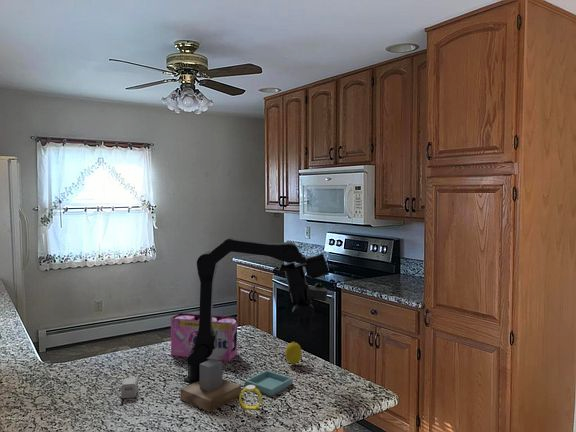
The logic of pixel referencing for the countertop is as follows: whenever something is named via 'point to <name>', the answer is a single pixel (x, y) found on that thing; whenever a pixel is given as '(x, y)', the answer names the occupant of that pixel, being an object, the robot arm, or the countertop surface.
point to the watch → (249, 389)
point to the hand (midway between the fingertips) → (308, 330)
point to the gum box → (187, 329)
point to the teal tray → (269, 382)
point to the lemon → (293, 353)
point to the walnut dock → (210, 395)
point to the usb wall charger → (129, 387)
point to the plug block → (210, 375)
